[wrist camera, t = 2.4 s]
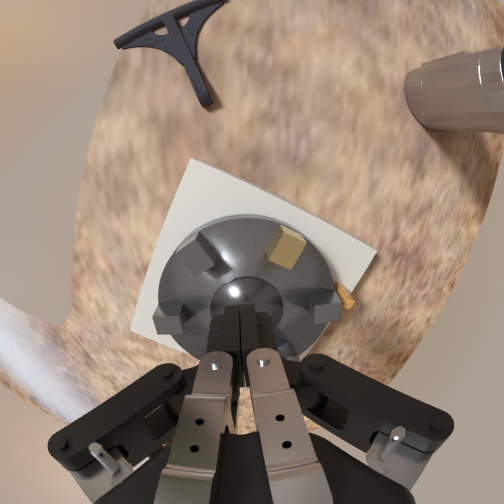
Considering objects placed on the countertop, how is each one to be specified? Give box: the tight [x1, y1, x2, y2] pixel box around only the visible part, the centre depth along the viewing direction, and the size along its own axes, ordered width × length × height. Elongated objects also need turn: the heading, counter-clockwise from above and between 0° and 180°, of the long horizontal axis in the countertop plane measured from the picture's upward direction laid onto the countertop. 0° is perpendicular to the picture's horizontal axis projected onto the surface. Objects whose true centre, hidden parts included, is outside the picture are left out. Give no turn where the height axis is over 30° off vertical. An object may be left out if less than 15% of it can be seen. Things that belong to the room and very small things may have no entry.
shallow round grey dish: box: [152, 214, 342, 362], centre depth 30 cm, size 20×20×5 cm
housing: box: [130, 157, 377, 362], centre depth 32 cm, size 24×24×7 cm
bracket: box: [113, 0, 225, 107], centre depth 24 cm, size 14×15×3 cm
